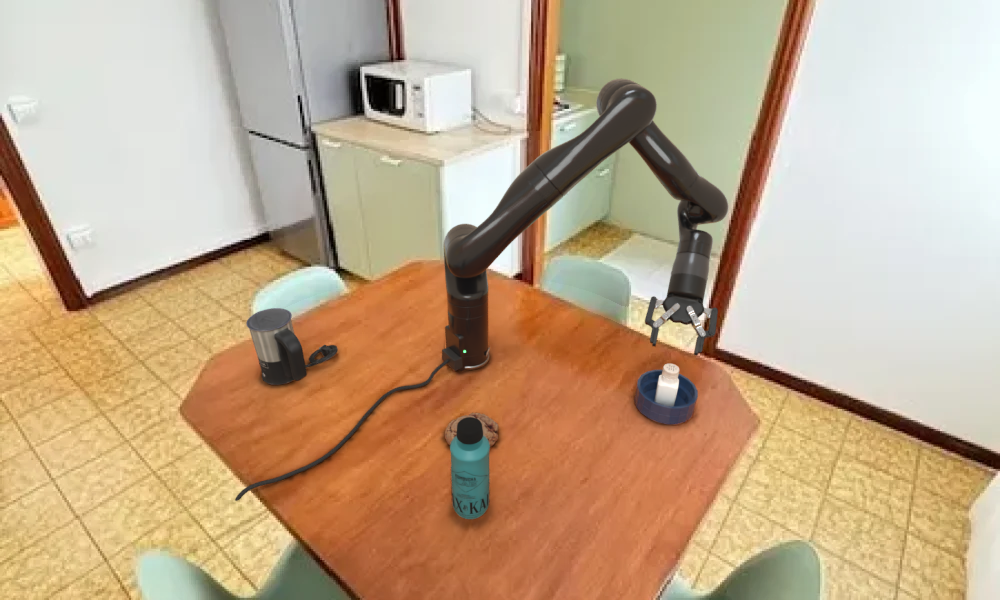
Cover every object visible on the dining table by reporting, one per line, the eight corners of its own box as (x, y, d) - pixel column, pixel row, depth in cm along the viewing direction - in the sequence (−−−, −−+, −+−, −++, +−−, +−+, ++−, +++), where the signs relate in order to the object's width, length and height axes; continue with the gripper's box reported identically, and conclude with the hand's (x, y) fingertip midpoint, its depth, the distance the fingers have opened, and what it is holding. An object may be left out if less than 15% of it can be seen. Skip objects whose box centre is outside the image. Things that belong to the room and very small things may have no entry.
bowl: (668, 435, 108) (673, 416, 105) (622, 402, 116) (625, 384, 113) (705, 409, 114) (709, 391, 111) (658, 379, 122) (662, 362, 120)
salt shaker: (674, 399, 116) (682, 364, 111) (672, 411, 113) (681, 376, 108) (655, 395, 117) (662, 360, 112) (653, 407, 114) (660, 371, 109)
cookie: (438, 427, 109) (438, 416, 108) (487, 412, 113) (487, 402, 111) (455, 462, 101) (454, 450, 100) (506, 445, 105) (506, 434, 103)
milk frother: (252, 379, 121) (236, 324, 114) (299, 341, 134) (287, 290, 126) (303, 395, 117) (290, 340, 109) (347, 355, 129) (338, 302, 122)
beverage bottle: (451, 495, 95) (446, 410, 85) (489, 493, 95) (489, 408, 85) (452, 528, 89) (446, 441, 79) (492, 525, 90) (492, 438, 79)
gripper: (655, 266, 115) (640, 339, 112) (726, 278, 111) (712, 354, 108) (654, 277, 122) (640, 346, 119) (721, 288, 118) (708, 360, 115)
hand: (674, 350), depth 113 cm, fingers open, 8 cm apart
